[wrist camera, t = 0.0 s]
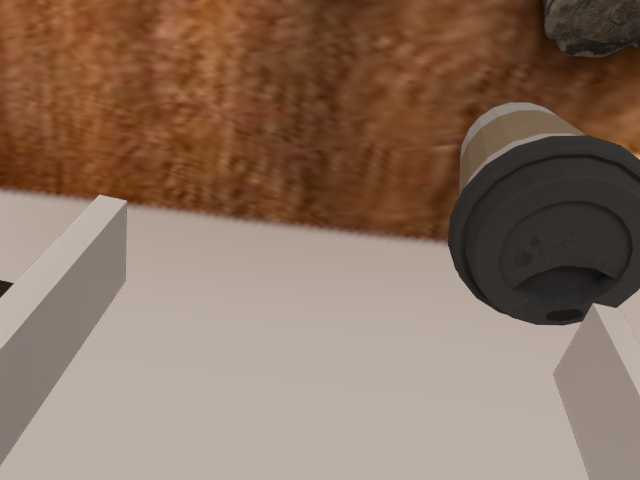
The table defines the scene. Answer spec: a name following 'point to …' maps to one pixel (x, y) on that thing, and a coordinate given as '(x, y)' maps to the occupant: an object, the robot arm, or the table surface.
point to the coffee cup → (545, 217)
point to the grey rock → (592, 25)
